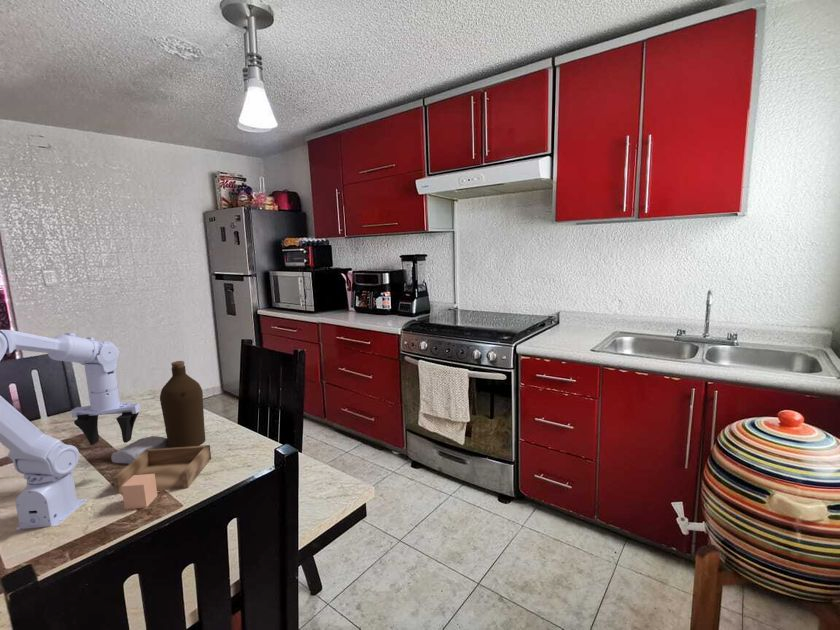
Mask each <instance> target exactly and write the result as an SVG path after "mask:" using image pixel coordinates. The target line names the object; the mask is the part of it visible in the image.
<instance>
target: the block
mask: <svg viewBox="0 0 840 630" xmlns="http://www.w3.org/2000/svg"><path fill="white" fill-rule="evenodd" d="M121 487H122V500H123V505H124V506H123V508H124V510H132V509H143V508H148V507H149V506H150V505H151V503H152V502H153V501H154V500H155V499H156V498H157V496H158V491H157V488H156V480H155V474H144V475H133V476H132V477H131V478H130V479H129V480H128V481H127V482H126V483H125V484H123V485H122V486H121Z"/></svg>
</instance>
